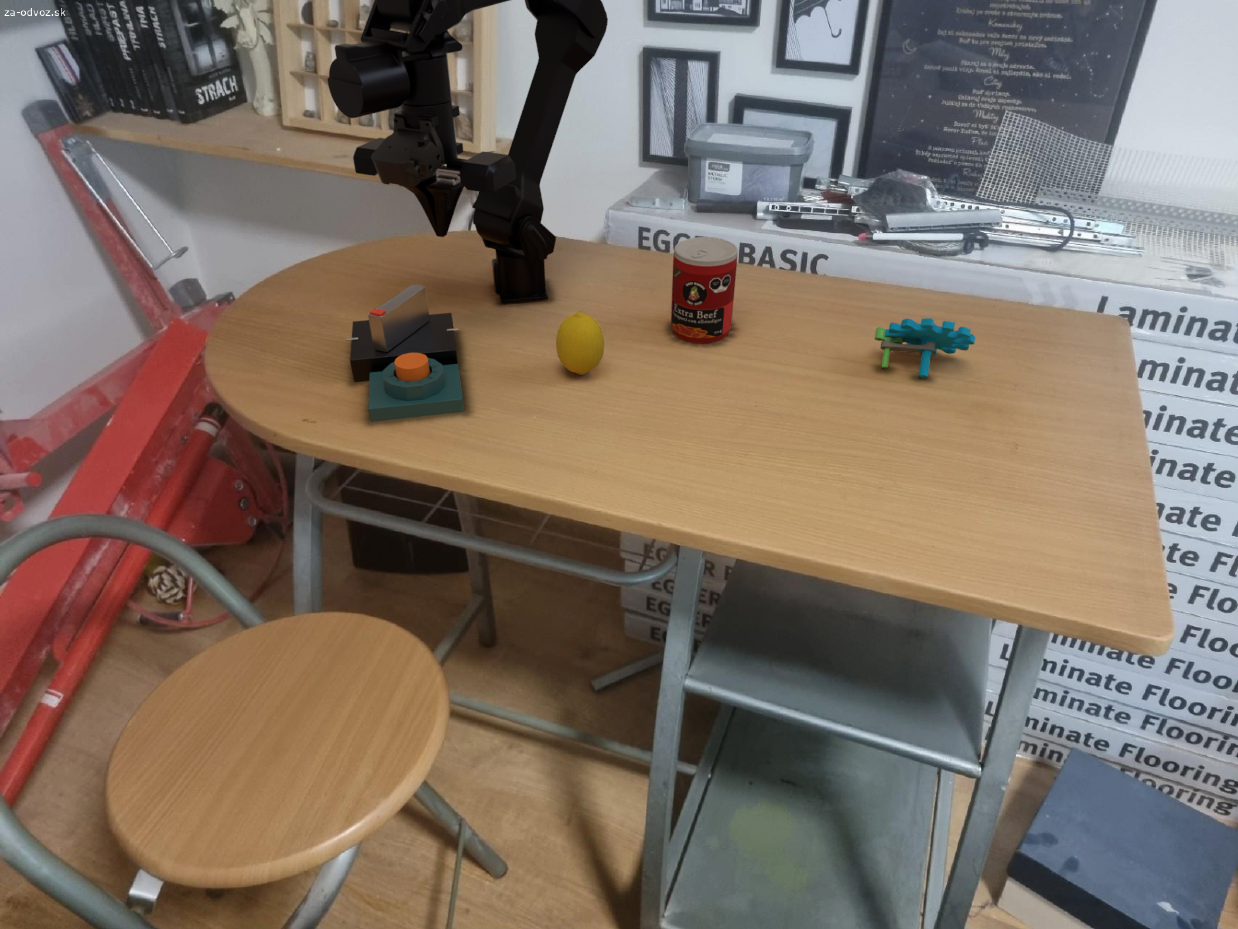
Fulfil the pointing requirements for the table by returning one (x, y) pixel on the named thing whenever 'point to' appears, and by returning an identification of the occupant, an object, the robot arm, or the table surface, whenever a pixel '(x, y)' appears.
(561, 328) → the lemon
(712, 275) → the canned food
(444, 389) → the control block
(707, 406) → the table surface
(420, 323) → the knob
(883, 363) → the gear
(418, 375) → the button
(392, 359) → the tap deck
